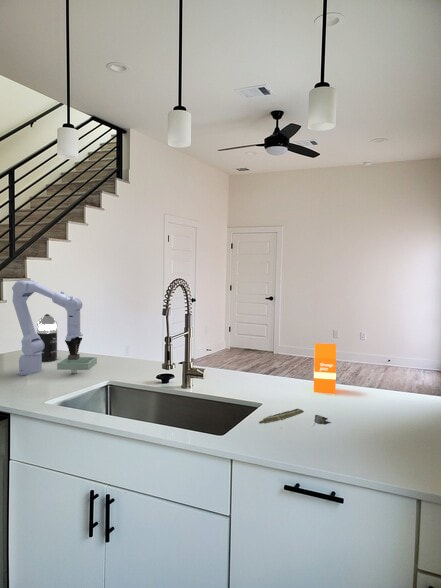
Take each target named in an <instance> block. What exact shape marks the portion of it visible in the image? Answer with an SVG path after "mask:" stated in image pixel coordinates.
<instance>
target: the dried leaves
mask: <svg viewBox="0 0 441 588" xmlns="http://www.w3.org/2000/svg"><path fill="white" fill-rule="evenodd" d="M304 412H305V411H304V410H303V409H300V408H295V409H292V410H286V411H282V412H279V413H276V414H273V415H269V416H266V417H264V418H262V420H260V421H258V423H259V425H260V424H261V425H262V424H269V423H275V422H279V421H284V420H287V419H289V418H292V417H296V416H298V415H301V414H302V413H304ZM328 419H329V418H328V417H324V416H322V415H319V414H315V415H314V420H313V421H314V425H313V426H312V427H314V426H315V425H316V424H317V425H324V426H326V425H329V424H331V423H332V422H331V421H327V420H328ZM280 429H283V427H280Z"/></svg>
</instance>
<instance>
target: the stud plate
mask: <svg viewBox="0 0 441 588" xmlns="http://www.w3.org/2000/svg"><path fill="white" fill-rule="evenodd" d="M70 371H71V372H70V373H71V375H77V372H78V371H77V370H76V369H72V370H70Z"/></svg>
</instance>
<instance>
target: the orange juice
mask: <svg viewBox="0 0 441 588" xmlns="http://www.w3.org/2000/svg"><path fill="white" fill-rule="evenodd" d="M313 358H314V361H313V393H319V394H336V387H337V385H336V383H337V382H336V380H337V344H336V343H319V342H318V343H317V342H315V344H314V357H313Z"/></svg>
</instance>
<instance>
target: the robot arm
mask: <svg viewBox="0 0 441 588" xmlns="http://www.w3.org/2000/svg"><path fill="white" fill-rule="evenodd" d="M11 290H12V304H13V307H14V310H15V313H16V316H17V320H18V323H19V327H20V329H21V332H22V336H23V337H22V339H21V341H20V342H21V352H22V354H21V355H19V359H18V374H17V375H19V376H28V375H30V374H37V373H41V372H42V370H43V369H42V368H43V366H42V363H43V361H42V350H43V349H44V342H43V341H42V340H41V338H40V336H39V335H38V334H37V331H36V329H35V325H34V323H33V320H32V317H31V314H30V313H31V312H30V310H29V307H28V303H27V301H28V299H29V297H31V296H32V295H33V294H35V293H38V294H40V295H42V296H44V297H47V298H50V299H51V301H52V303H54V304H56V305H58V306H60V307H62V308H64V309H65V311H66V312H67V313H66V319H67V321H66V322H67V323H66V324H67V325H66V326H67V327H66V332H67V333H66V336H65V339H64V342H65V344H66V345H67V349H68V353H69V355H75V352H76V345H77V354H79V349H80V345H81V342H82V340H83V336H84V335H83V334H82V332H81V309H82V308H83V301H82V300H81V299H79V298H76V297H75V298H74V297H73V296H72V295H70V296H69V295H67V294H65V292H64V291H63V290H62V291H56V292H55V291H53V290H52V289H49V288H48V287H47V286H44V285H43V284H41V283H39V282H37V281H35V280H31V279H29V280H18V281H17V280H16V282H15V283H14V284H13V286H12V287H11Z"/></svg>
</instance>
